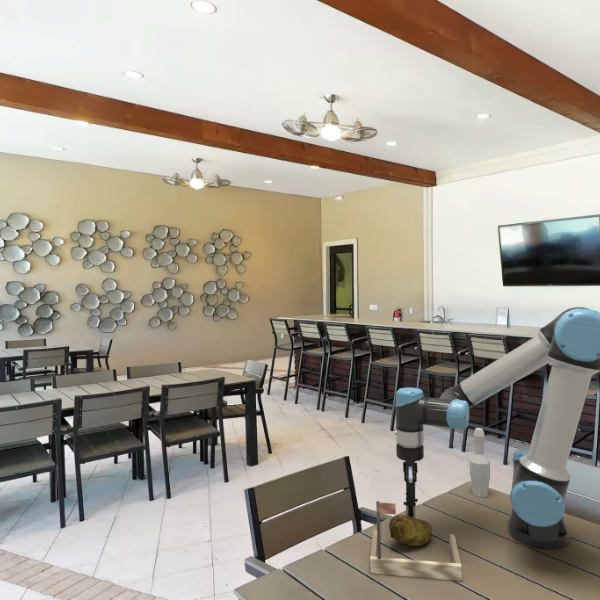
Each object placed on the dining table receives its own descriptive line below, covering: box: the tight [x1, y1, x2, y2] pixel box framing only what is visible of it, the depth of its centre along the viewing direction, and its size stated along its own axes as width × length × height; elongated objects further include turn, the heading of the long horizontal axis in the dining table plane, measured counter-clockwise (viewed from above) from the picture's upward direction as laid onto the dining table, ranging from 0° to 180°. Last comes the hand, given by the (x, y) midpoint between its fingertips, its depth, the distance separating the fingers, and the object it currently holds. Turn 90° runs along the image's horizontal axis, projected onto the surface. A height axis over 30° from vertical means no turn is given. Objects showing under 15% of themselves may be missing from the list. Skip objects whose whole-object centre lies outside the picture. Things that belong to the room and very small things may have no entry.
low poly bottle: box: [469, 427, 491, 498], centre depth 159 cm, size 6×6×22 cm
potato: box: [388, 514, 433, 547], centre depth 129 cm, size 8×13×8 cm, turn 98°
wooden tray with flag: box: [369, 500, 463, 582], centre depth 122 cm, size 21×15×18 cm
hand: (411, 526), depth 135 cm, fingers closed
